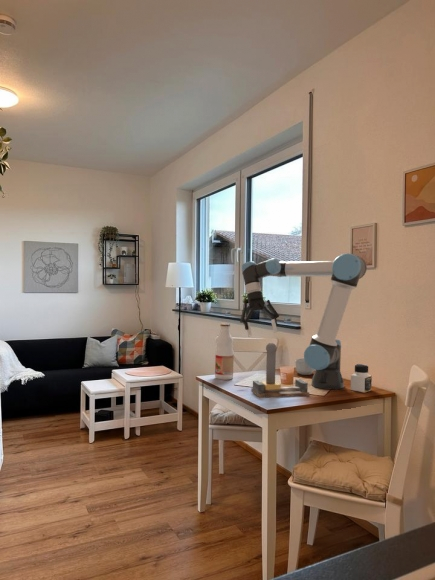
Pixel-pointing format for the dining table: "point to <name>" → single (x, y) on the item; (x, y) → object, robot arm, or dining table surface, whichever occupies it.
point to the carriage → (271, 368)
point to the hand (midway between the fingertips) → (263, 334)
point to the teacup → (303, 367)
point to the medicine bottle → (361, 379)
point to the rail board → (281, 390)
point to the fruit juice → (224, 354)
